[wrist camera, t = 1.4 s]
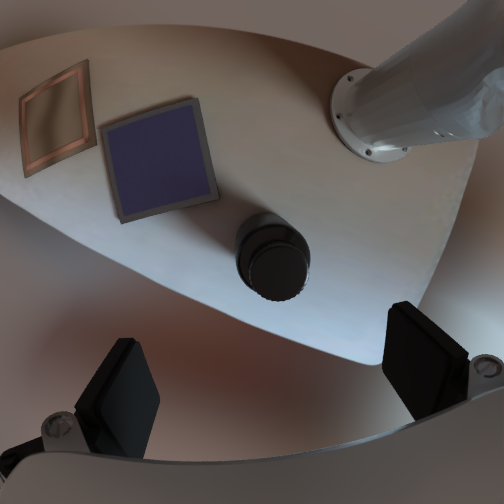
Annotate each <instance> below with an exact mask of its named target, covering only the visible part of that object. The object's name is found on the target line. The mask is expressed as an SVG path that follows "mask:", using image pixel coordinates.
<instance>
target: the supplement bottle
mask: <svg viewBox="0 0 504 504" xmlns="http://www.w3.org/2000/svg"><path fill="white" fill-rule="evenodd" d="M236 267H237V271H238V274H239V276H240V278H241V279H242V281H243V282H244V283H245V284H246V286H248V287H249V288H250V289H251V290H253V291H255V292H257V294H259V295H261V297H263V298H266V299H267V300H271V301H277V302H279V301H285V300H290V299H291V298H293V297H295V296H296V295H297V294H299V293H300V291H302V290H303V289H304V286H305V285H306V282H307V281H308V276H309V267H310V250H309V247H308V244H307V242H306V240H305V239H304V237H303V236H302V235H301V234H300V233H299V232H298V231H297V230H296V229H295V228H294V227H293V226H291V225H290V224H289V223H288V222H287V221H286V220H284V219H283V218H282V217H280V216H278V215H275V214H272V213H259V214H256V215H253V216H251V217H249V218H248V219H247V220H246V221H244V223H243V224H242V225H241V226H240V228H239V230H238V233H237V236H236Z"/></svg>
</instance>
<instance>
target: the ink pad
mask: <svg viewBox="0 0 504 504" xmlns="http://www.w3.org/2000/svg"><path fill="white" fill-rule="evenodd" d="M102 134H103V140H104V146H105V152H106V158H107V164H108V169H109V174H110V179H111V184H112V188H113V193H114V198H115V202H116V206H117V210H118V215H119V219H120V223H121V224H124V223H128V222H131V221H135V220H138V219H142V218H146V217H149V216H153V215H157V214H161V213H164V212H168V211H172V210H176V209H180V208H184V207H188V206H192V205H196V204H201V203H205V202H209V201H213V200H218V199H220V197H219V192H218V188H217V183H216V179H215V174H214V170H213V165H212V161H211V156H210V151H209V147H208V142H207V137H206V132H205V128H204V123H203V118H202V113H201V108H200V103H199V100H198V98H194V99H190V100H186V101H182V102H179V103H175V104H172V105H168V106H165V107H161V108H158V109H155V110H152V111H149V112H146V113H143V114H140V115H137V116H134V117H131V118H128V119H125V120H122V121H120V122H117V123H114V124H112V125H109V126H107V127H104V128H102Z"/></svg>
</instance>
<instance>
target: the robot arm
mask: <svg viewBox="0 0 504 504" xmlns="http://www.w3.org/2000/svg"><path fill="white" fill-rule="evenodd" d="M348 80H349V81H348ZM330 115H331V120H332V123H333V126H334V128H335V131H336V132H337V134H338V136H339V138H340V139H341V140H342V142H343V143H344V144H345V145H346V146H347V147H348V148H349V149H350V150H351V151H352V152H353V153H355V154H356V155H358V156H359V157H361V158H363V159H365V160H368V161H370V162H375V163H389V162H394V161H397V160H400V159H401V158H403V157H404V156H406V155H407V154H408V153H409V152H410V151H411V149H412V148H413V146H419V145H427V144H434V143H442V142H451V141H460V140H469V139H479V138H484V137H487V136H490V135H492V134H494V133H495V132H497V131H498V130H499V129H500V128H501V127H502V125H503V124H504V0H468V1H467V2H466V3H465V4H463V5H462V6H461V7H460V8H459V9H458V10H456V11H455V12H454V13H453V14H451V15H450V16H448V17H447V18H446V19H444V20H443V21H442V22H440V23H439V24H437V25H436V26H435V27H433V28H432V29H430V30H429V31H427V32H426V33H424V34H423V35H421V36H420V37H418V38H417V39H416V40H414V41H412V42H411V43H410V44H408V45H406V46H405V47H404V48H402V49H401V50H399V51H398V52H396V53H395V54H394V55H392V56H391V57H390V58H388V59H387V60H385V61H384V62H383V63H381V64H380V65H379V66H377V67H376V68H374V69H369V68H362V69H356V70H353V71H350V72H349V73H347V74H346V75H344V76H343V77H342V78H341V79H340V80H339V81H338V82H337V84H336V85H335V86H334V89H333V91H332V93H331V98H330ZM336 116H338V117H339V119H337V117H336ZM365 151H366V152H367V155H366V153H365ZM468 354H469V353H468V352H467V351H466V350H465V349H464V348H462V346H460V345H459V344H458V343H457V342H456V341H455V340H454V339H452V338H451V337H450V336H449V335H448V334H447V333H445V332H444V331H443V330H442V329H441V328H440V327H438V326H437V325H436V324H435V323H434V322H433V321H431V320H430V319H429V318H428V317H427V316H425V315H424V314H423V313H422V312H421V311H419V310H418V309H417V308H416V307H415V306H413V305H412V304H411V303H410V302H408V301H403V302H399V303H394V304H393V305H392V308H390V309H389V310H388V319H387V329H386V338H385V347H384V354H383V361H382V370H383V373H384V374H385V376H386V377H387V379H388V380H389V382H390V383H391V385H392V386H393V388H394V389H395V391H396V392H397V394H398V395H399V397H400V398H401V400H402V401H403V403H404V404H405V406H406V407H407V409H408V411H409V412H410V414H411V415H412V417H413V418H414V420H415V422H412V423H409V424H407V425H404V426H401V427H399V428H396V429H393V430H390V431H387V432H384V433H380V434H377V435H374V436H371V437H367V438H364V439H361V440H356V441H353V442H349V443H345V444H341V445H337V446H332V447H328V448H323V449H318V450H313V451H308V452H302V453H296V454H290V455H283V456H275V457H267V458H257V459H247V460H231V461H166V460H151V459H143V457H144V453H145V450H146V447H147V443H148V440H149V436H150V433H151V430H152V426H153V423H154V420H155V416H156V413H157V410H158V407H159V403H160V396H159V393H158V390H157V388H156V385H155V383H154V380H153V378H152V375H151V373H150V370H149V367H148V365H147V362H146V359H145V357H144V353H143V350H142V347H141V345H140V343H139V342H138V341H135V339H134V338H119V339H118V340H117V341H116V343H115V345H114V346H113V347H112V349H111V350H110V352H109V353H108V355H107V356H106V358H105V359H104V361H103V362H102V364H101V365H100V367H99V368H98V370H97V371H96V373H95V374H94V376H93V377H92V379H91V381H90V382H89V384H88V385H87V387H86V388H85V390H84V392H83V393H82V395H81V396H80V398H79V399H78V401H77V403H76V405H75V406H74V407H75V409H76V412H75V413H74V414H72V413H70V412H67V411H61V412H56V413H54V414H52V415H50V416H49V417H47V418H46V419H45V421H44V422H43V423H42V426H41V435H42V436H41V437H38V438H36V439H34V440H31V441H28V442H26V443H23V444H21V445H18V446H16V447H13V448H10V449H8V450H6V451H4V452H3V453H2V455H1V456H0V504H504V363H503V361H502V360H500V359H499V358H498V357H495V356H493V355H488V354H482V355H478V356H476V357H474V358H473V359H472V360H471V361H470V360H469V359H467V358H468Z"/></svg>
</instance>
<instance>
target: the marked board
mask: <svg viewBox="0 0 504 504" xmlns="http://www.w3.org/2000/svg"><path fill="white" fill-rule="evenodd" d="M19 124H20V140H21V151H22V161H23V169H24V176H25V178H28V177H29V176H31V175H33V174H35V173H37V172H39V171H41V170H43V169H45V168H47V167H49V166H51V165H53V164H55V163H57V162H59V161H61V160H64V159H66V158H68V157H70V156H72V155H75V154H77V153H79V152H82V151H84V150H86V149H89V148H91V147H94V146H96V145H97V139H96V133H95V125H94V117H93V109H92V99H91V88H90V74H89V60H88V59H87V60H85V61H83V62H81V63H79V64H77V65H75V66H73V67H71V68H69V69H67V70H65V71H63V72H61V73H59V74H58V75H56V76H54V77H52V78H51V79H49V80H47V81H46V82H44V83H42V84H41V85H39V86H37V87H36V88H34V89H33V90H31V91H30V92H28V93H26V94H25V95H23V96H22V97H21V98H19Z"/></svg>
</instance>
